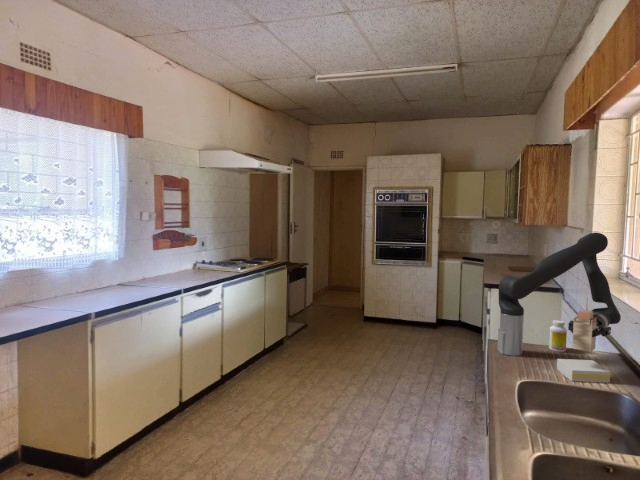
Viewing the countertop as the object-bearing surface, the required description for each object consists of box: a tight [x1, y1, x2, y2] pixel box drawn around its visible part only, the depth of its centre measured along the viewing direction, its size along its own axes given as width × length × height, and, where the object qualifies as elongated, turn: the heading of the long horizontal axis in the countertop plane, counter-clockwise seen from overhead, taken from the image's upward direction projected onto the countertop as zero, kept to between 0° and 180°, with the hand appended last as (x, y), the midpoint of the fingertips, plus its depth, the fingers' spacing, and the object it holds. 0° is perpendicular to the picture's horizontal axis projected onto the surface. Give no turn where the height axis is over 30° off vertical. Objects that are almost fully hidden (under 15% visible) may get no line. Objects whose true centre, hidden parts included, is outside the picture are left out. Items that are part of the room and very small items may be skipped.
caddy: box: [572, 315, 597, 353], centre depth 161 cm, size 6×6×12 cm
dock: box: [556, 358, 611, 384], centre depth 161 cm, size 13×12×4 cm
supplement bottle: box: [548, 319, 568, 353], centre depth 191 cm, size 7×7×13 cm
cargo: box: [577, 309, 593, 323], centre depth 160 cm, size 4×4×4 cm
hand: (582, 332), depth 159 cm, fingers closed on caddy, 6 cm apart
